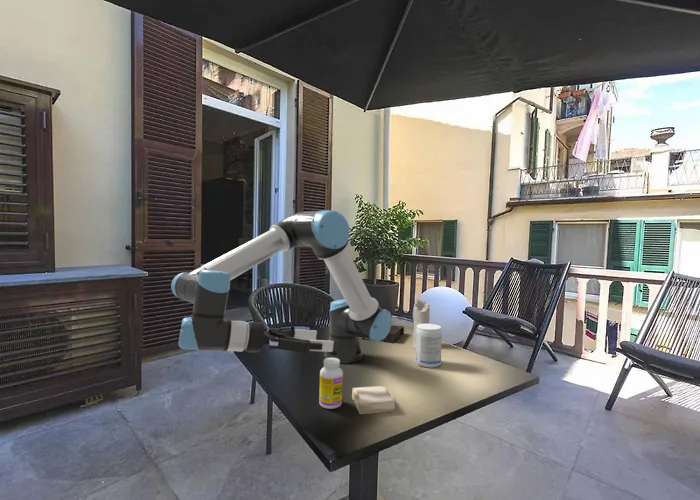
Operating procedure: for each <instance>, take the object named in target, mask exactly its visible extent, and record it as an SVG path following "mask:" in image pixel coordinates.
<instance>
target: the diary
mask: <svg viewBox="0 0 700 500" xmlns="http://www.w3.org/2000/svg"><path fill="white" fill-rule="evenodd" d="M404 333H405V327H404V326H403V325H392V324H391V328H390V331H389V333H388V335H387V336H386V337H385V338H384V339H383V340H381V341H383V342H382V343H389V344H394V345H395V344H396V343H397V342H398V341H399V339H401V336H402V335H404ZM358 337H360V336H358ZM362 338H364V337H362ZM363 340H366V339H365V338H364V339H363ZM381 341H380V342H381Z"/></svg>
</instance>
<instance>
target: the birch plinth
mask: <svg viewBox="0 0 700 500" xmlns="http://www.w3.org/2000/svg"><path fill="white" fill-rule="evenodd" d="M351 388H352V390H351V392H352V393H351V398H352V401H353V400H354V401H353V402H354V405H355V407H356V409H357V410H358V413H359V415H368V414H378V413H379V414H380V413H382V414H383V413H389V412H391V413H392V412H395V411H396V408H395V407H396V401H395V399H394V398H393V396H392V395H391V393H390V392H389V391H388V389H387V387H386V386H385V385H376V386H375V385H374V386H359V387H351Z"/></svg>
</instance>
